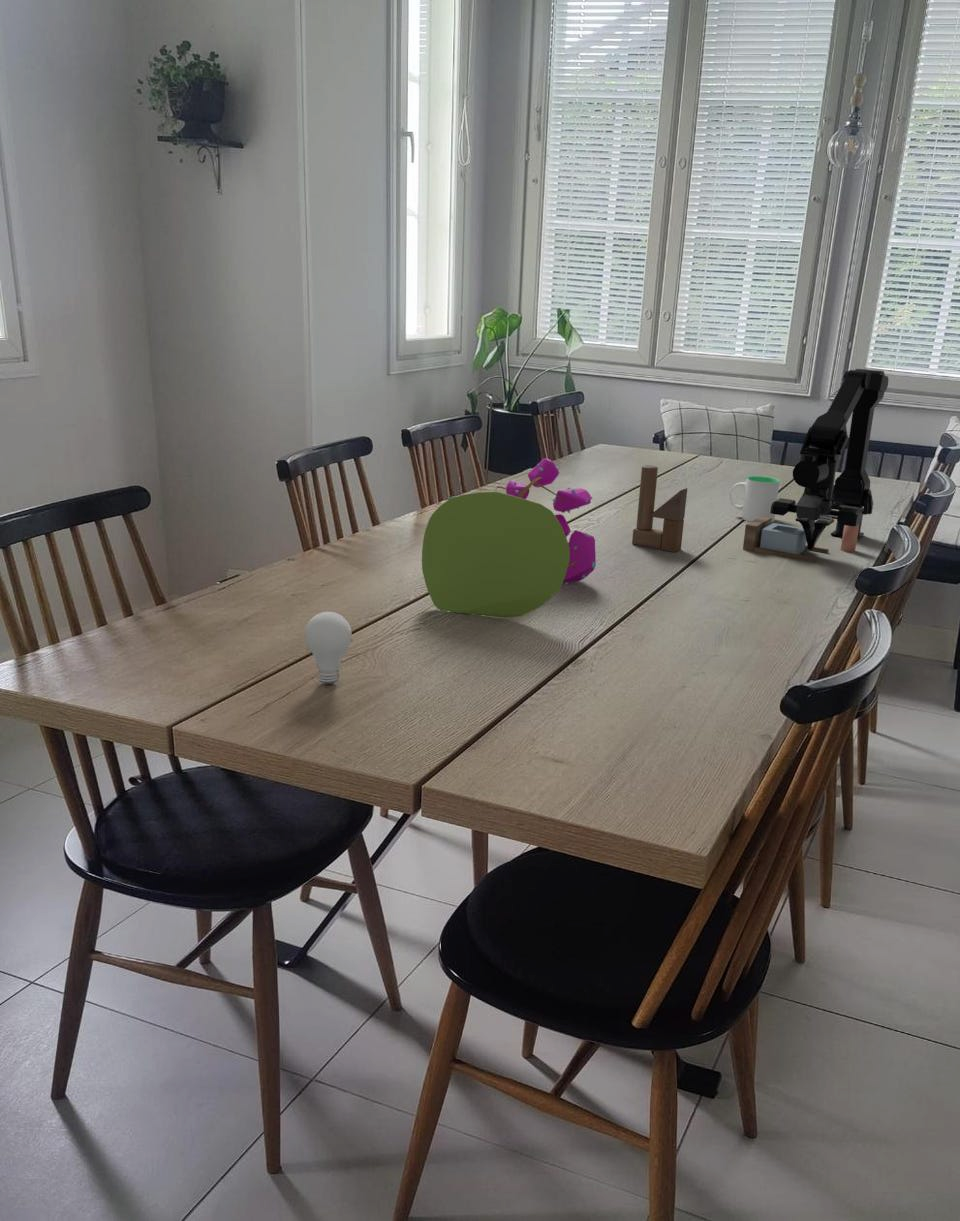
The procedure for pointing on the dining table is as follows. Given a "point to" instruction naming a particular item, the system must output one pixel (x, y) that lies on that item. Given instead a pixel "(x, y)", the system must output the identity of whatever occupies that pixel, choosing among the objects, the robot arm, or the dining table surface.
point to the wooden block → (658, 515)
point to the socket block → (783, 538)
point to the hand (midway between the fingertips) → (810, 549)
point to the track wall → (753, 544)
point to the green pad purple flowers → (505, 548)
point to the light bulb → (328, 643)
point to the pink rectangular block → (849, 538)
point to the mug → (757, 497)
